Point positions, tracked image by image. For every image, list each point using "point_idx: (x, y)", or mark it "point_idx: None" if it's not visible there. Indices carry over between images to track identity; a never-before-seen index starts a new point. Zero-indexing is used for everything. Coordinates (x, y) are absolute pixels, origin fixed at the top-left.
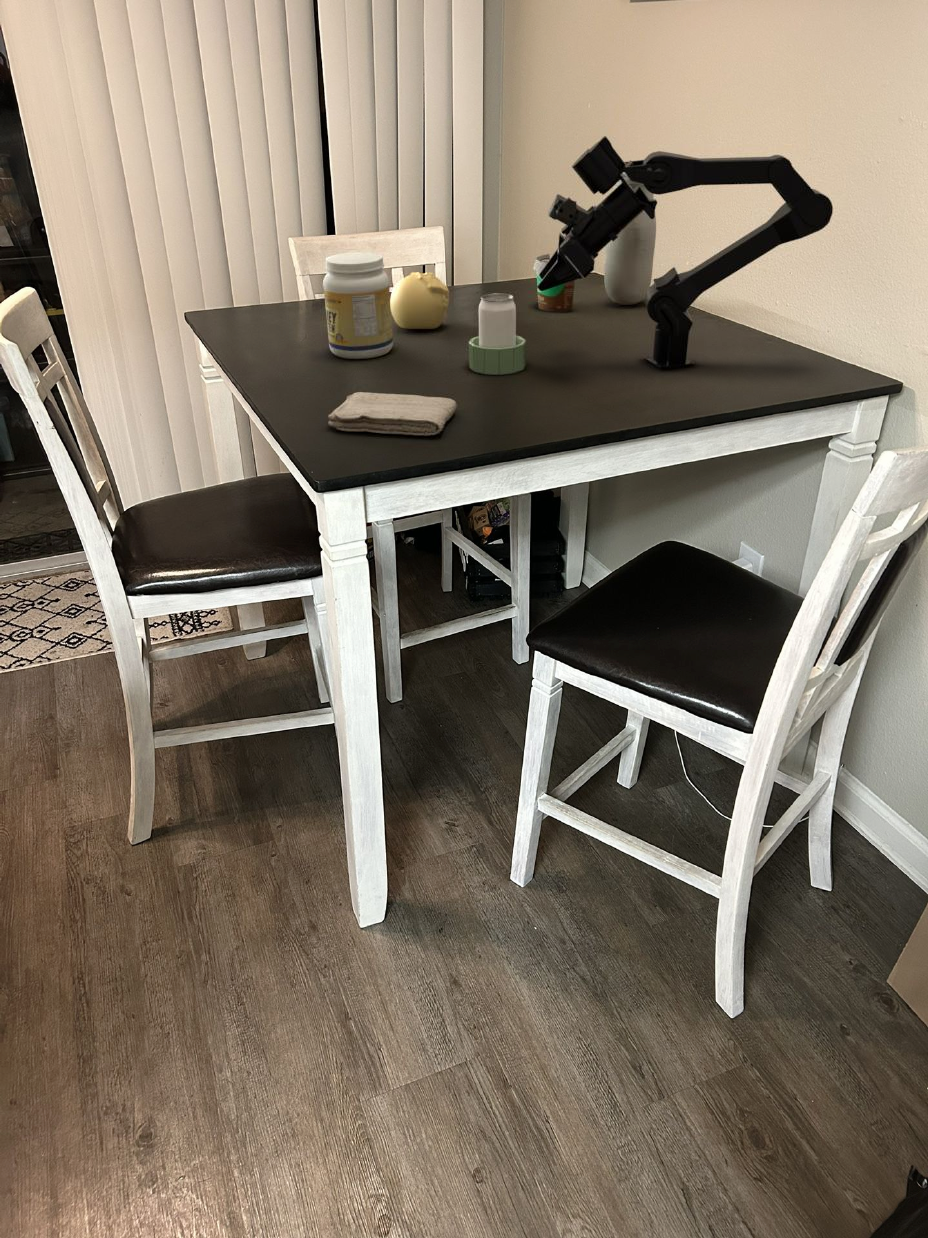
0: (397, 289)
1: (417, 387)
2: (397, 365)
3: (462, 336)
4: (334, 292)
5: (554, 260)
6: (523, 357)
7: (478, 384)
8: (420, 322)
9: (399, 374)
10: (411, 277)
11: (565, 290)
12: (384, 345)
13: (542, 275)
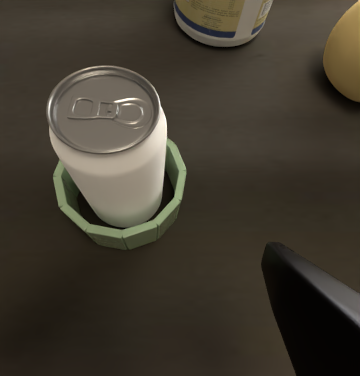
0: None
1: (29, 80)
2: (147, 57)
3: (316, 138)
4: None
5: (336, 343)
6: (95, 239)
7: (19, 163)
8: (327, 67)
9: (101, 59)
10: None
11: None
12: (195, 28)
13: (267, 260)
